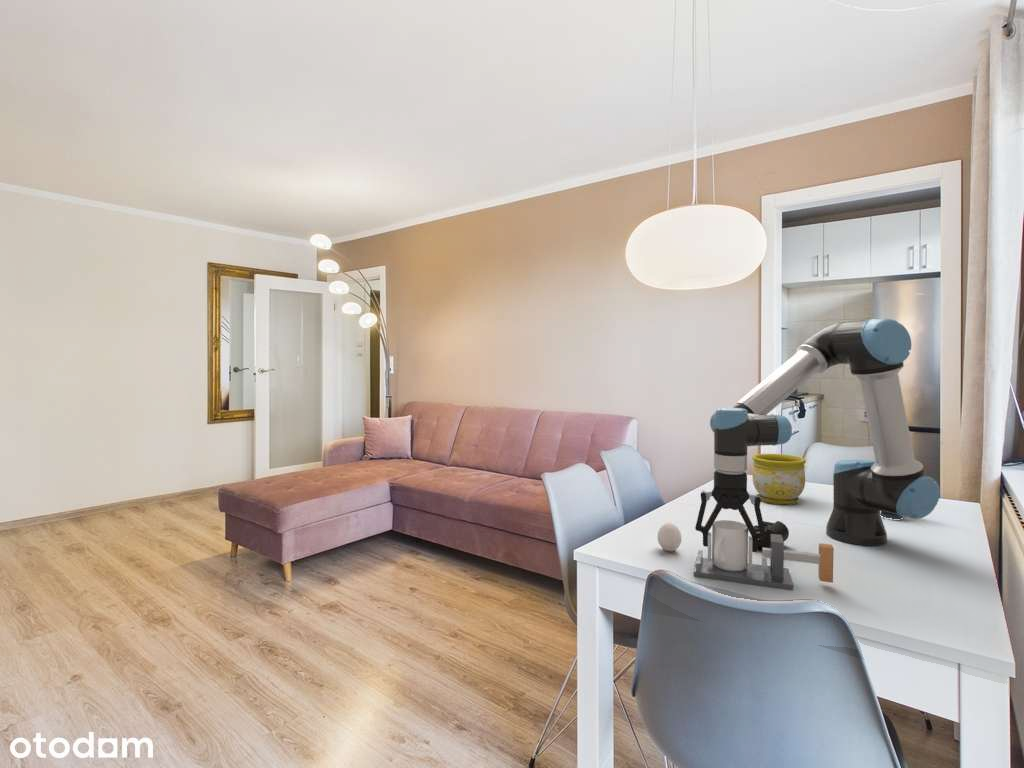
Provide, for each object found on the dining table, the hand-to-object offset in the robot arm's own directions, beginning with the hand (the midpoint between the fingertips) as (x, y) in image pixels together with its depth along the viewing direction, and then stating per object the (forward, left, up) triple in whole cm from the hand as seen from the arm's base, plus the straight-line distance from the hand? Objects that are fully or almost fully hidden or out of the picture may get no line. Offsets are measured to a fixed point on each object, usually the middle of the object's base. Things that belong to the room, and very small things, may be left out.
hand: (729, 561), depth 132 cm
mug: (+1, 0, -2) cm, 2 cm away
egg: (+16, -11, -3) cm, 19 cm away
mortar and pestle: (-50, -71, -3) cm, 87 cm away
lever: (-15, 0, -1) cm, 15 cm away
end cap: (-10, -24, -3) cm, 26 cm away
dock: (-3, 0, -3) cm, 4 cm away
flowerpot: (-16, -82, -3) cm, 84 cm away
